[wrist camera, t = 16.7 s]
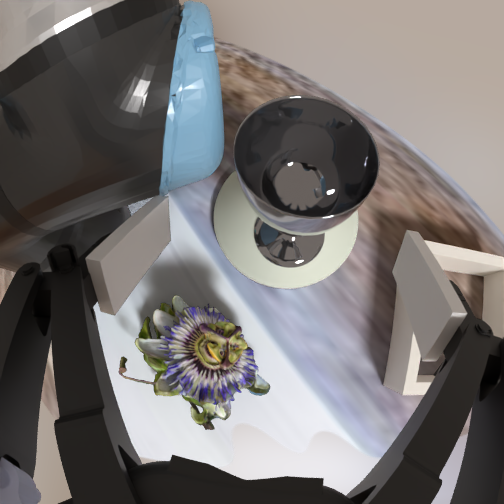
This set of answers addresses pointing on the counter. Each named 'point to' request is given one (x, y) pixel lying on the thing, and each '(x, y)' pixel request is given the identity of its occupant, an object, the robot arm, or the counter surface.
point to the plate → (249, 257)
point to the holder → (403, 339)
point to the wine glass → (302, 173)
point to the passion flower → (198, 359)
